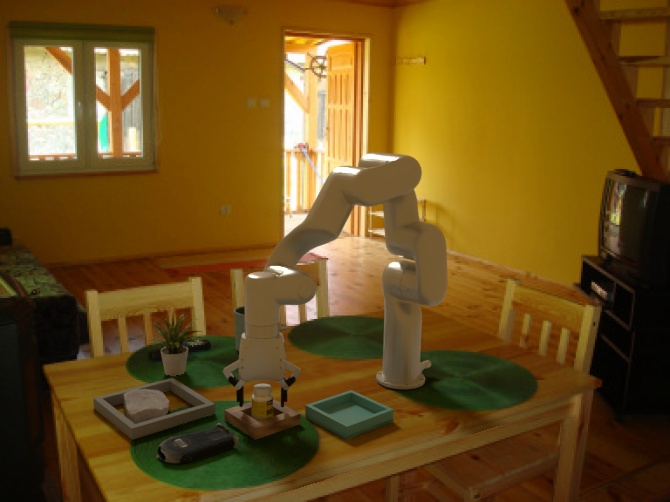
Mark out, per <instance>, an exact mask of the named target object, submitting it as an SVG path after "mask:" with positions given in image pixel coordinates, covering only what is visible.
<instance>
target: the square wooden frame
mask: <svg viewBox="0 0 670 502" xmlns="http://www.w3.org/2000/svg"><path fill="white" fill-rule="evenodd" d="M225 420H227V421H228V422H230V423H231V424H233V425H235V426H236V427H238V428H239V429H241V430H242V431H244V432H245V433H247V434H248V435H249V436H248V435H247V434H246V435H247V436H248V437H250V436H251V437H250V438H252V439H253V438H254V439H253V440H255V441H256V440H259V439H262V438H265V437H268V436H270V435H274V434H276V433H279V432H282V431H285V430H288V429H290V428H293V427H296V426H299V425H301V413H300V412H298V411H296V410H294V409H293V408H291V407H290V406H289V407H288V406H287V405H285V404H284V407H281V401H277V400H276V399H274V398H273V417H270V418H267V419H264V420H261V421H257V420H255V419H253V418H252V401H249V402H246V403H243V407H239V405H235V406H234V407H233V406H232V407H230V408H227V409H224V421H225ZM228 422H227V423H228ZM230 423H229V424H230ZM231 424H230V425H231ZM233 425H232V426H233ZM236 427H235V428H236ZM239 429H238V430H239ZM241 430H240V431H241ZM242 431H241V432H242ZM244 432H243V433H244ZM245 433H244V434H245Z"/></svg>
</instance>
